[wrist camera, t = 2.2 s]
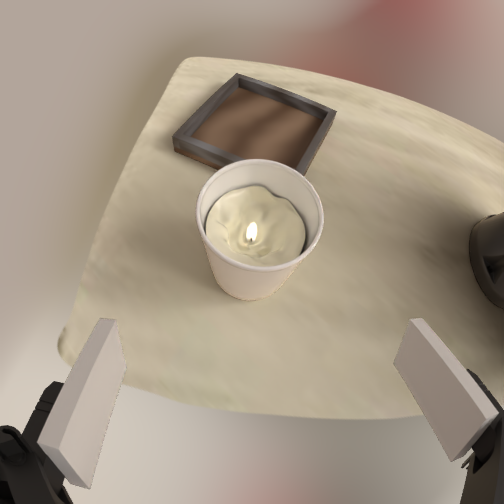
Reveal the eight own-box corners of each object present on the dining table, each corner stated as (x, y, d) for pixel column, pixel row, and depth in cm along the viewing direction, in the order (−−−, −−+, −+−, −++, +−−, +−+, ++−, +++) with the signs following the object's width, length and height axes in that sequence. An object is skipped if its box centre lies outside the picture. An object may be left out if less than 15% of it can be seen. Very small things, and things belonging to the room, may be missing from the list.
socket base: (331, 125, 44) (336, 111, 41) (289, 202, 38) (293, 189, 35) (235, 87, 46) (236, 73, 43) (174, 151, 40) (172, 136, 37)
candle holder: (230, 212, 37) (233, 142, 26) (306, 247, 36) (339, 188, 25) (188, 282, 33) (170, 232, 22) (271, 323, 32) (295, 293, 21)
